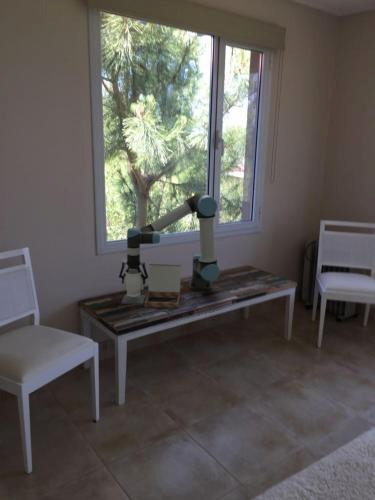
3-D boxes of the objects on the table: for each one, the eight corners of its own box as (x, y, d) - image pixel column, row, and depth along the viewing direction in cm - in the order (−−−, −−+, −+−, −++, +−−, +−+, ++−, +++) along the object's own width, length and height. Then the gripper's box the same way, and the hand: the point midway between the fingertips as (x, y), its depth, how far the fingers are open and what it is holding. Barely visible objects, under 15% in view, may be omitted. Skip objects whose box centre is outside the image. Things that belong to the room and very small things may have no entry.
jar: (138, 298, 250) (139, 274, 246) (122, 296, 252) (122, 273, 248) (144, 292, 260) (144, 269, 256) (128, 291, 262) (128, 268, 258)
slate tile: (145, 296, 263) (145, 295, 263) (142, 304, 250) (142, 303, 250) (125, 296, 263) (125, 294, 263) (121, 303, 251) (121, 302, 250)
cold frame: (179, 297, 263) (179, 293, 262) (178, 308, 247) (178, 303, 246) (148, 296, 264) (148, 291, 263) (144, 306, 247) (144, 302, 247)
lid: (179, 292, 262) (179, 292, 263) (180, 265, 262) (180, 265, 263) (148, 291, 263) (148, 290, 264) (149, 263, 263) (149, 263, 264)
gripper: (153, 253, 252) (152, 287, 258) (115, 251, 253) (116, 286, 259) (151, 256, 245) (151, 291, 251) (113, 254, 246) (113, 290, 251)
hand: (133, 288), depth 255 cm, fingers closed on jar, 10 cm apart
